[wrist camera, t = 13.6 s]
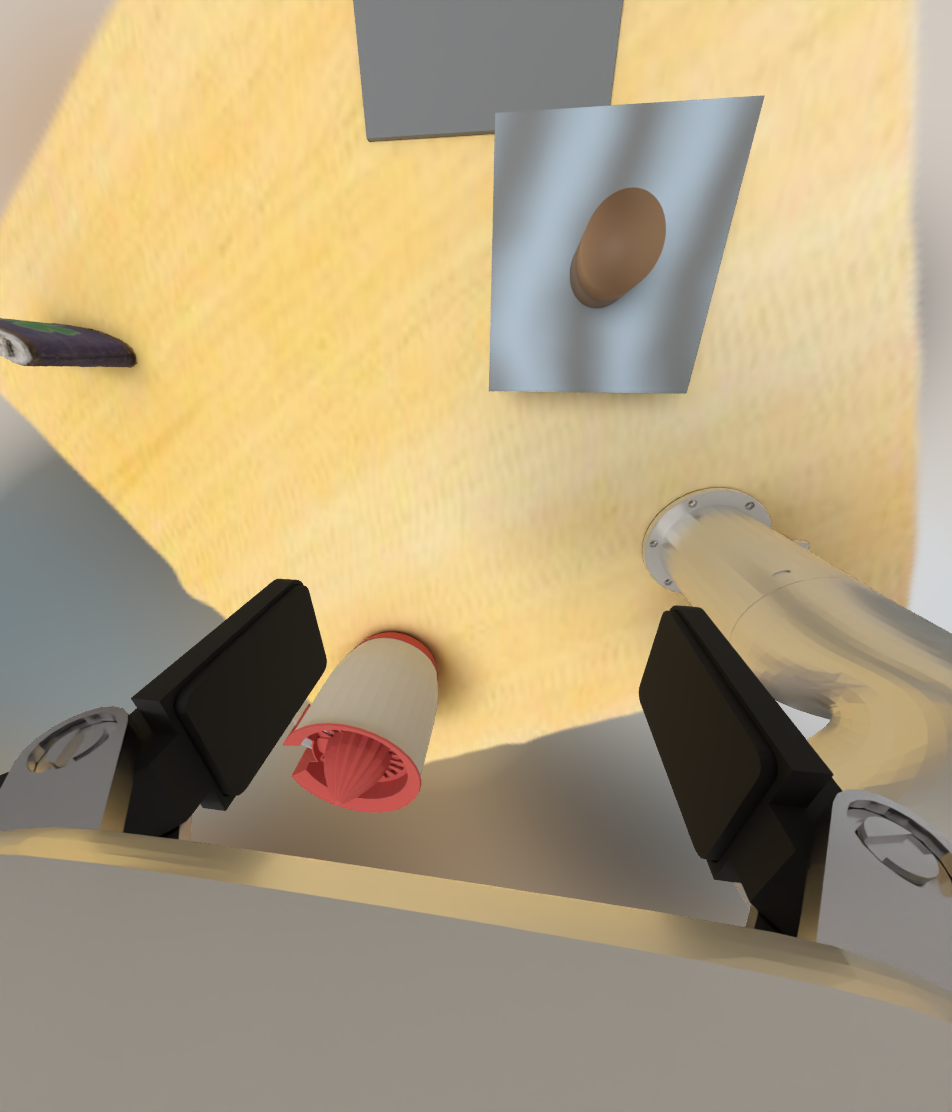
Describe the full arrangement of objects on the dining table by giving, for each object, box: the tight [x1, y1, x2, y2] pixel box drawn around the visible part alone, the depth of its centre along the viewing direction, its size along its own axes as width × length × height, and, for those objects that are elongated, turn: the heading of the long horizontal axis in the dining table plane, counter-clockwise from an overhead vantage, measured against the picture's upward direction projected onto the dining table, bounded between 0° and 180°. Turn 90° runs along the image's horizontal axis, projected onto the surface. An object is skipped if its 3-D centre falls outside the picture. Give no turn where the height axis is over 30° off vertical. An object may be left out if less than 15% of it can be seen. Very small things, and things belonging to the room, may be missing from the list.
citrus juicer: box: [283, 632, 438, 812], centre depth 44 cm, size 16×17×20 cm
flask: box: [0, 318, 137, 368], centre depth 31 cm, size 9×3×11 cm, turn 76°
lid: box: [489, 96, 764, 393], centre depth 20 cm, size 14×14×6 cm
